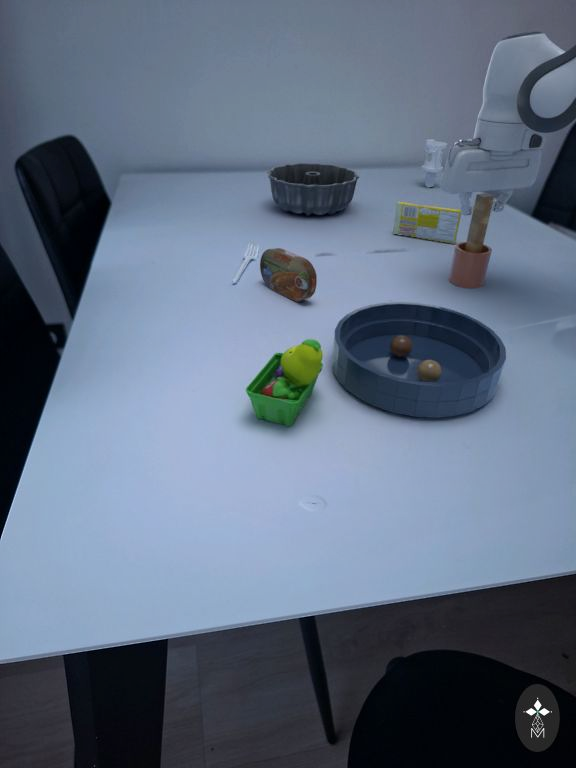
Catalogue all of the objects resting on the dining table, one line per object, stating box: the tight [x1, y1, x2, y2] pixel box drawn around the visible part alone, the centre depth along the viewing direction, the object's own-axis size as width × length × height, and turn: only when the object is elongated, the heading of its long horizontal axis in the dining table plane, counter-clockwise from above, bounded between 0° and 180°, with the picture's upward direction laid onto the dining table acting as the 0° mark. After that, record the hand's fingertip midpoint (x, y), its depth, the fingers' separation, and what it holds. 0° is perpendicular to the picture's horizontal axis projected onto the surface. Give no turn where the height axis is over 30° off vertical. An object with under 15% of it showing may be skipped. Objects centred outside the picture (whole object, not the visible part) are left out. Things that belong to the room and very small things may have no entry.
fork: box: [232, 243, 260, 284], centre depth 119 cm, size 3×20×2 cm, turn 171°
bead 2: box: [417, 360, 442, 382], centre depth 80 cm, size 4×4×4 cm
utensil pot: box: [448, 241, 493, 290], centre depth 112 cm, size 7×7×8 cm
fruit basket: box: [245, 338, 324, 427], centre depth 73 cm, size 11×9×11 cm
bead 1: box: [390, 335, 413, 357], centre depth 86 cm, size 4×4×4 cm
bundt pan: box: [267, 162, 360, 217], centre depth 156 cm, size 26×26×10 cm
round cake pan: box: [331, 301, 507, 418], centre depth 83 cm, size 26×26×6 cm
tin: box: [259, 247, 318, 303], centre depth 106 cm, size 15×3×8 cm, turn 40°
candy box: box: [392, 201, 462, 245], centre depth 136 cm, size 16×2×8 cm, turn 65°
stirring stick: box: [465, 192, 495, 253], centre depth 109 cm, size 2×2×18 cm
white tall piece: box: [420, 138, 448, 187], centre depth 178 cm, size 7×7×15 cm
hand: (481, 212), depth 106 cm, fingers open, 6 cm apart
